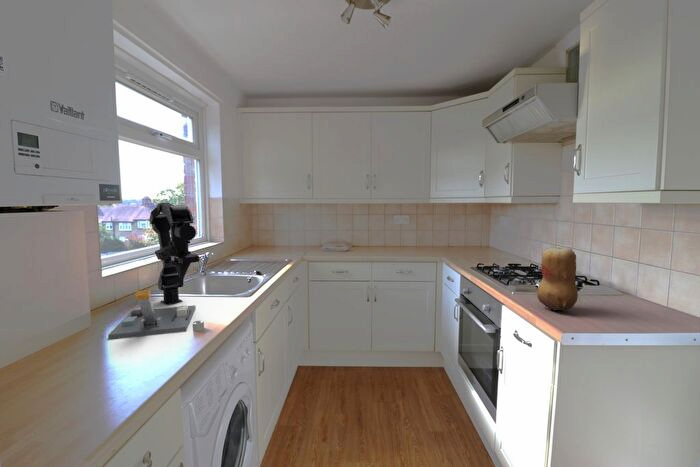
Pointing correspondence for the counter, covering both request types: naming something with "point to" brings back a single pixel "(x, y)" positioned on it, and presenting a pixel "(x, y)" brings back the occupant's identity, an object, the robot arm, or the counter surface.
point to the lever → (146, 307)
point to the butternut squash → (558, 279)
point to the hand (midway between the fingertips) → (181, 278)
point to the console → (165, 324)
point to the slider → (182, 312)
